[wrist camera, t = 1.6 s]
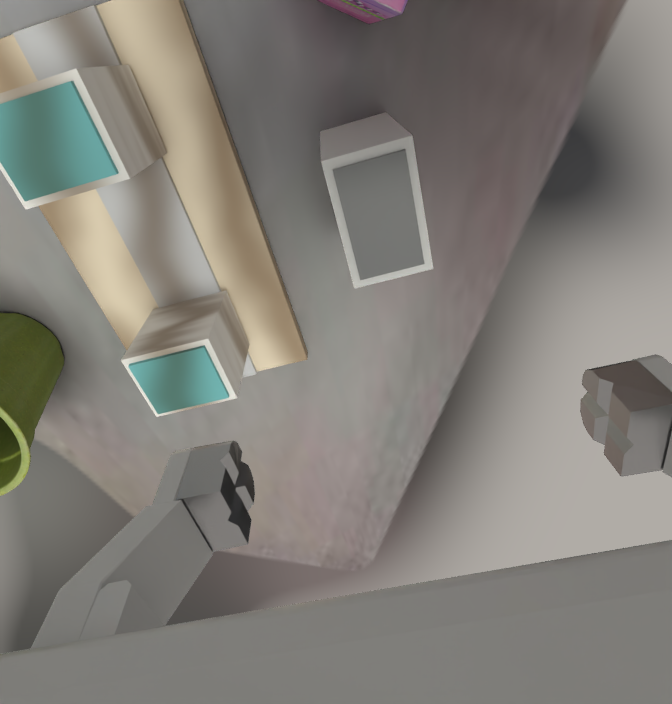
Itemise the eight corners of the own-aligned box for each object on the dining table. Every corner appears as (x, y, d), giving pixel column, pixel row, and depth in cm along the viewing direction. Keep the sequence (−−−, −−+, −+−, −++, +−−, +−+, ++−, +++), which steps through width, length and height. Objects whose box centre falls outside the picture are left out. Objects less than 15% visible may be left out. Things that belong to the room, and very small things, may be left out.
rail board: (176, -18, 26) (121, -45, 19) (307, 351, 40) (305, 420, 33) (-40, 56, 28) (-171, 59, 20) (158, 387, 42) (124, 460, 34)
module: (385, 111, 30) (413, 136, 22) (404, 215, 34) (434, 270, 25) (319, 131, 31) (321, 162, 22) (345, 231, 34) (354, 290, 26)
